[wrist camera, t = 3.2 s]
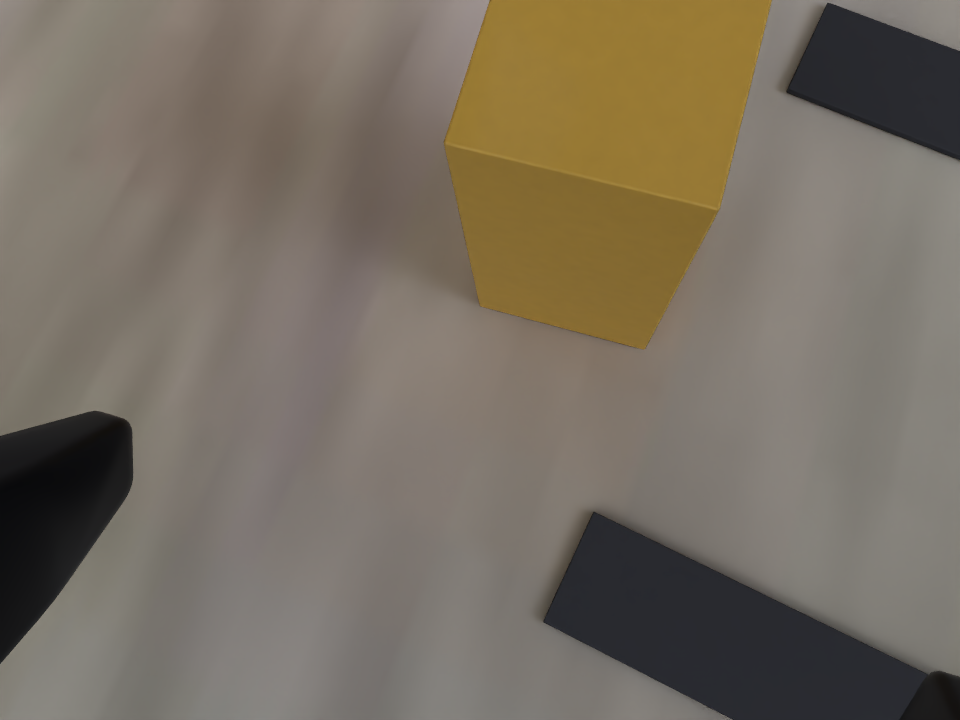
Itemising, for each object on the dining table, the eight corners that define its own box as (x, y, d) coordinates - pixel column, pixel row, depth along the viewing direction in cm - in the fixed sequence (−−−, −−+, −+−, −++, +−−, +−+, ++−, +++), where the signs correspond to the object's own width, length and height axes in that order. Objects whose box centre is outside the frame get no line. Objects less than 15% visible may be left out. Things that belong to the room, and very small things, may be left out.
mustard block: (688, 181, 24) (786, -58, 14) (644, 350, 23) (719, 210, 14) (528, 143, 24) (524, -110, 15) (479, 306, 23) (442, 143, 14)
